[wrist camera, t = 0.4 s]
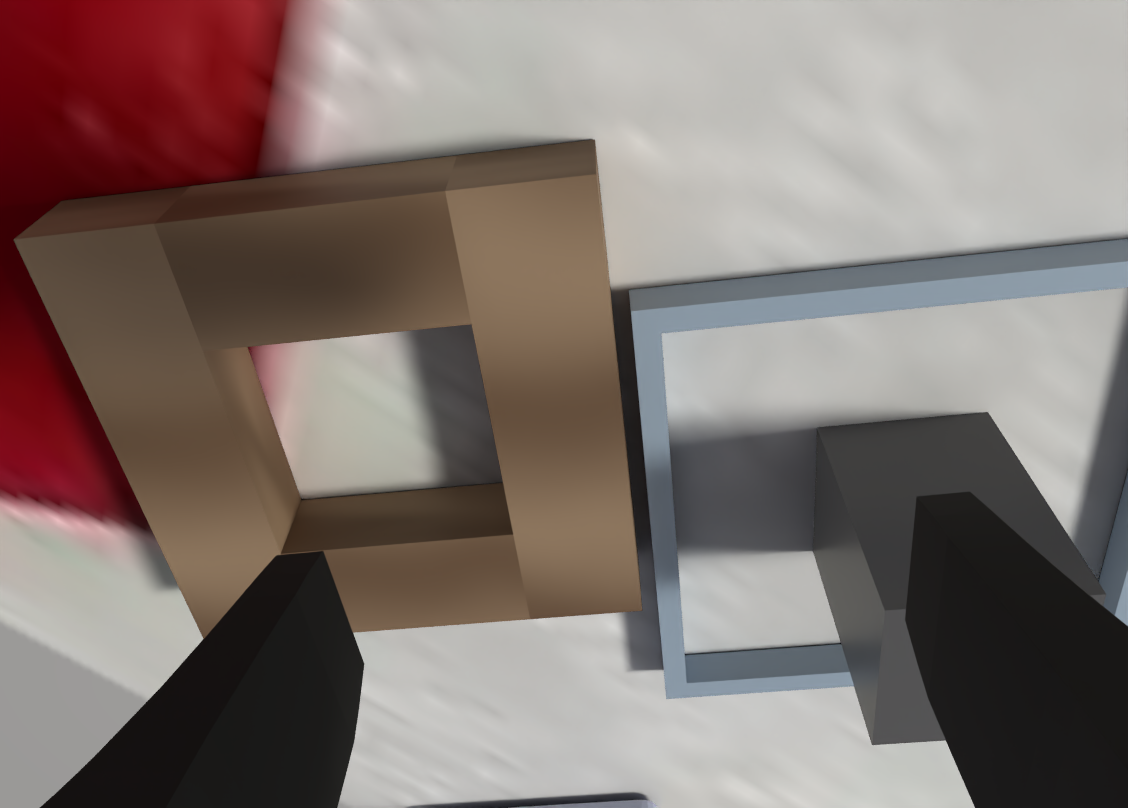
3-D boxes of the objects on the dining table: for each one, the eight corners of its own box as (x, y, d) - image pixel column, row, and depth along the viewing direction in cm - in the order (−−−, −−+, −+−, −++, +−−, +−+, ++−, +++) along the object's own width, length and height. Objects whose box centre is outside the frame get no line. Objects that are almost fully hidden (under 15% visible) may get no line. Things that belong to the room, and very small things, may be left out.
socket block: (637, 555, 25) (642, 610, 23) (230, 588, 26) (206, 643, 24) (595, 139, 19) (596, 174, 17) (61, 200, 20) (13, 239, 18)
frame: (1104, 639, 26) (1121, 667, 25) (663, 671, 27) (666, 699, 26) (1221, 229, 20) (1249, 249, 19) (628, 290, 20) (631, 311, 20)
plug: (968, 538, 24) (1068, 732, 19) (812, 550, 25) (872, 745, 20) (987, 411, 22) (1106, 594, 17) (817, 427, 23) (884, 610, 18)
